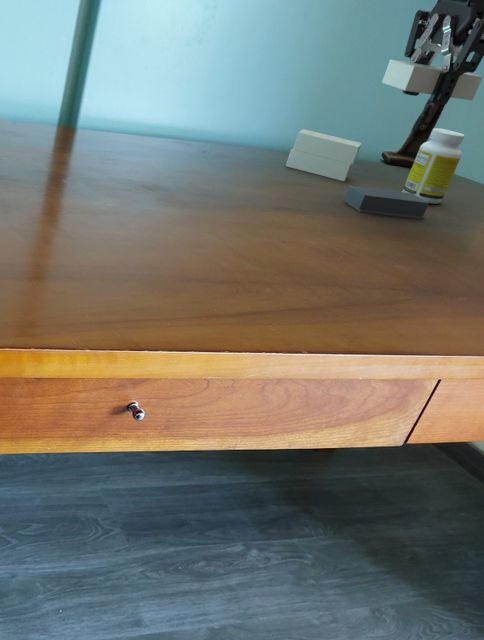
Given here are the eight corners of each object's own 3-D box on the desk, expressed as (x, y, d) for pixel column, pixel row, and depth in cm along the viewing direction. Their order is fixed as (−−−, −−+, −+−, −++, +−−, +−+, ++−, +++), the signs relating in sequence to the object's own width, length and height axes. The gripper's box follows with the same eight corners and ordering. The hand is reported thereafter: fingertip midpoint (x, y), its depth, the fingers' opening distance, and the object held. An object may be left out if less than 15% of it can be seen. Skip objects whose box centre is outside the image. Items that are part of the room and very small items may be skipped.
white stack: (348, 177, 127) (361, 143, 124) (346, 182, 124) (359, 146, 121) (289, 162, 131) (301, 128, 128) (285, 166, 127) (296, 131, 124)
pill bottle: (445, 202, 122) (474, 135, 116) (434, 207, 117) (464, 138, 112) (407, 190, 125) (434, 125, 120) (395, 195, 121) (423, 127, 115)
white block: (446, 92, 101) (455, 69, 99) (472, 100, 96) (483, 76, 94) (381, 82, 99) (390, 59, 98) (404, 90, 94) (414, 66, 93)
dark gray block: (402, 219, 108) (413, 193, 106) (419, 230, 104) (431, 203, 102) (338, 211, 106) (348, 185, 104) (353, 222, 102) (364, 195, 100)
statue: (378, 158, 146) (419, 53, 137) (413, 164, 146) (457, 59, 137) (385, 164, 143) (429, 56, 133) (421, 170, 143) (467, 62, 133)
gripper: (549, -34, 84) (482, 114, 92) (469, -40, 97) (416, 92, 105) (492, -45, 83) (430, 107, 91) (418, -49, 95) (369, 85, 104)
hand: (423, 98), depth 98 cm, fingers closed on white block, 5 cm apart
